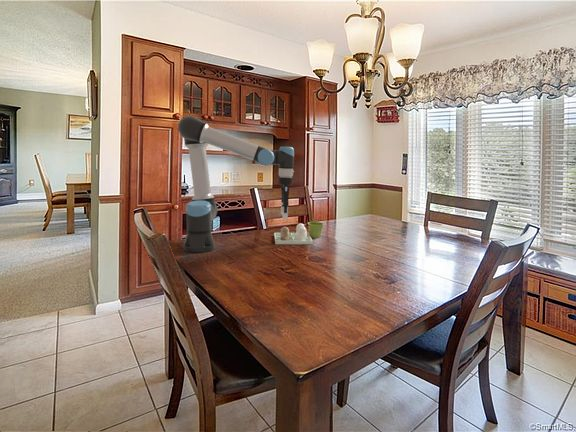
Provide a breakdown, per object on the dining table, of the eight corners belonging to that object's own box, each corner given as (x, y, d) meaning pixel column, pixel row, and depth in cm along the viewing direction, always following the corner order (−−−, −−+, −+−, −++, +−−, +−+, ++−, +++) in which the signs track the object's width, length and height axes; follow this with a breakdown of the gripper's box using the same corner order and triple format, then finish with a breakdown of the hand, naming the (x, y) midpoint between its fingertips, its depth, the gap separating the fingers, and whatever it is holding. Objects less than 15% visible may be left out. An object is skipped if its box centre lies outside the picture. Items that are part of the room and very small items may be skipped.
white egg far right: (298, 242, 184) (298, 227, 183) (297, 240, 189) (297, 226, 187) (306, 242, 184) (307, 227, 183) (305, 240, 189) (306, 226, 187)
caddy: (275, 245, 180) (275, 240, 180) (274, 236, 200) (274, 232, 199) (312, 245, 182) (312, 240, 181) (307, 237, 201) (308, 232, 201)
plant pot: (323, 236, 204) (324, 222, 203) (323, 240, 195) (324, 225, 193) (307, 235, 205) (308, 221, 203) (306, 239, 196) (307, 224, 194)
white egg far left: (296, 238, 193) (297, 224, 192) (295, 236, 198) (296, 222, 197) (304, 238, 194) (305, 224, 192) (303, 236, 198) (304, 222, 197)
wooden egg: (280, 242, 183) (280, 227, 182) (280, 240, 188) (280, 225, 186) (289, 242, 184) (289, 227, 182) (288, 240, 188) (288, 225, 187)
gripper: (295, 178, 168) (293, 221, 171) (291, 175, 192) (289, 213, 196) (279, 178, 167) (278, 220, 171) (277, 175, 192) (276, 212, 195)
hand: (284, 216), depth 183 cm, fingers open, 13 cm apart
